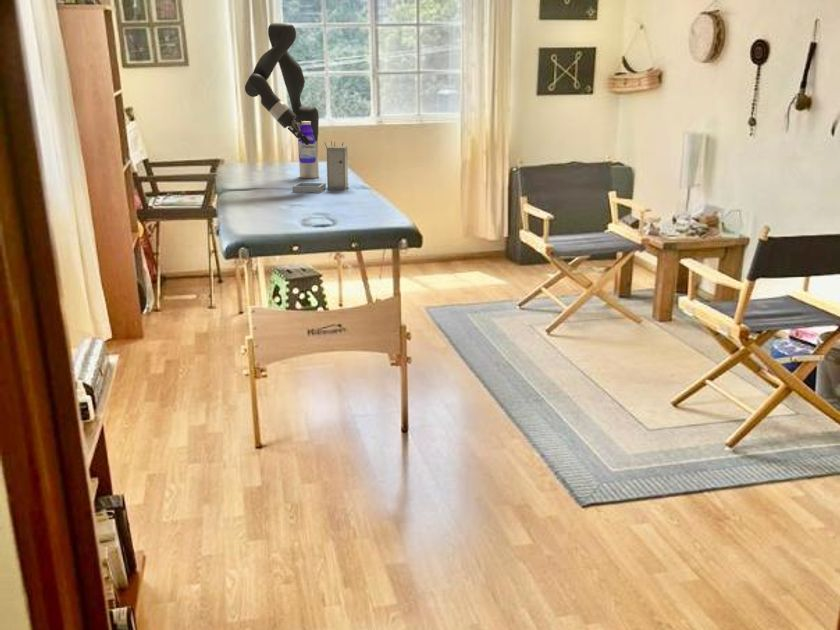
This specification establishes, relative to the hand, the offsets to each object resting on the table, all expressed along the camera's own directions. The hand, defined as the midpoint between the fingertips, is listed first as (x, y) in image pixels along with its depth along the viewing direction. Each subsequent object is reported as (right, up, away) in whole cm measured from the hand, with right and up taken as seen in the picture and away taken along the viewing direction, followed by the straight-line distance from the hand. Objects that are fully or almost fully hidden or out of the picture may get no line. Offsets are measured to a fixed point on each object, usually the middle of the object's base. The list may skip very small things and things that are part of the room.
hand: (310, 143), depth 345 cm
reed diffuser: (+9, -15, +21) cm, 27 cm away
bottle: (-2, -8, +3) cm, 9 cm away
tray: (-1, -19, +6) cm, 20 cm away
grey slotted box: (+10, -17, +13) cm, 24 cm away
